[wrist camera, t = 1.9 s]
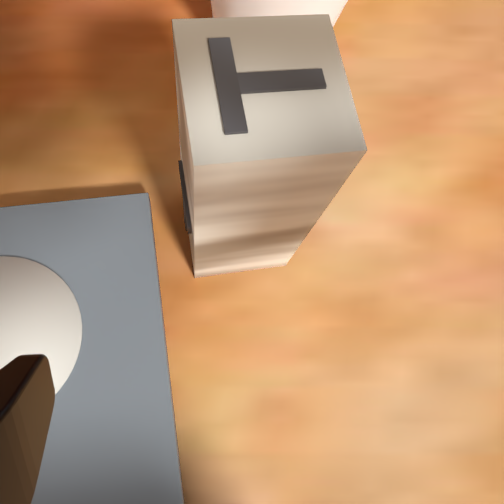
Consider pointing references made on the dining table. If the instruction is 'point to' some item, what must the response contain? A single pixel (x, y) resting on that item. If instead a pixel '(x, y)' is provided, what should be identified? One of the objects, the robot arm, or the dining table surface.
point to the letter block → (260, 135)
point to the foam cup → (276, 8)
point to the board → (93, 346)
